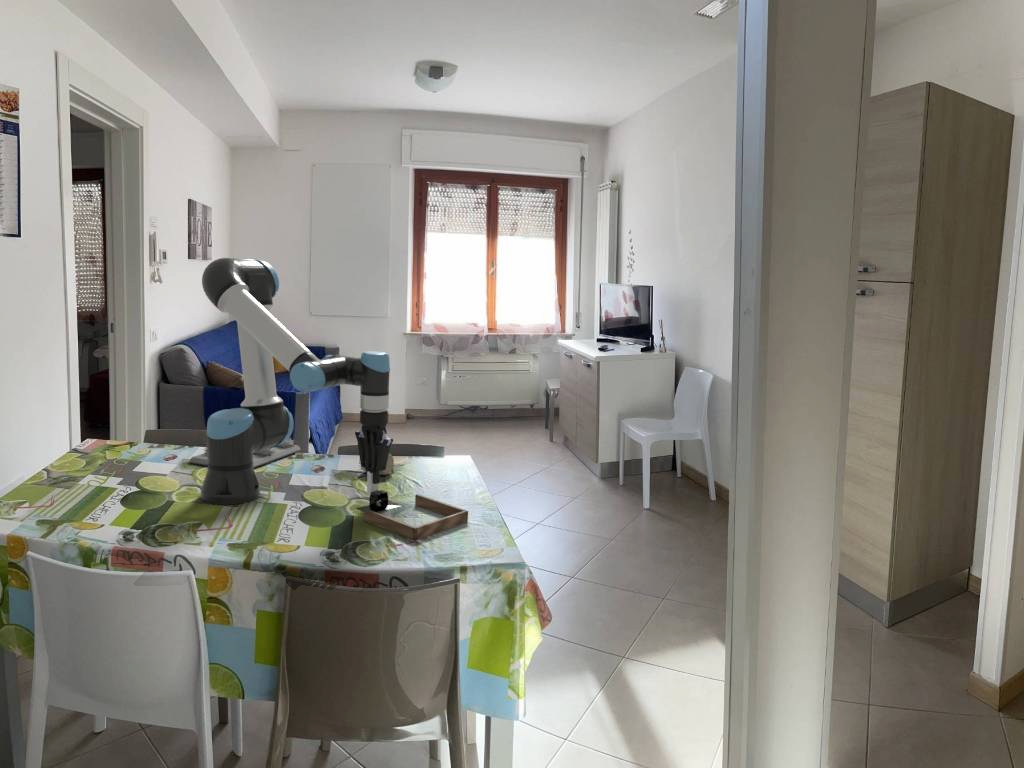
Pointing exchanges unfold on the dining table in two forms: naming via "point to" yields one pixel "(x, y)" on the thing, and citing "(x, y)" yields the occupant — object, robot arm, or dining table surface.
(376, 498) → the black wall mount bracket
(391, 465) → the ceramic mug
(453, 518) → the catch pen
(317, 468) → the dining table surface
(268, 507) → the dining table surface
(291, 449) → the flat grey tray
